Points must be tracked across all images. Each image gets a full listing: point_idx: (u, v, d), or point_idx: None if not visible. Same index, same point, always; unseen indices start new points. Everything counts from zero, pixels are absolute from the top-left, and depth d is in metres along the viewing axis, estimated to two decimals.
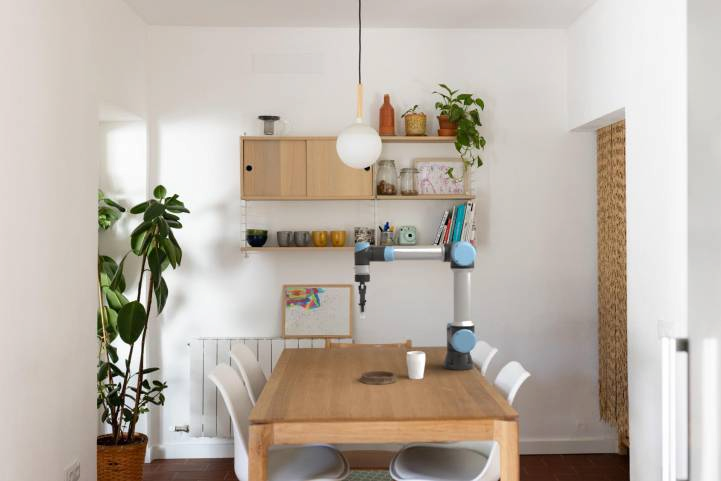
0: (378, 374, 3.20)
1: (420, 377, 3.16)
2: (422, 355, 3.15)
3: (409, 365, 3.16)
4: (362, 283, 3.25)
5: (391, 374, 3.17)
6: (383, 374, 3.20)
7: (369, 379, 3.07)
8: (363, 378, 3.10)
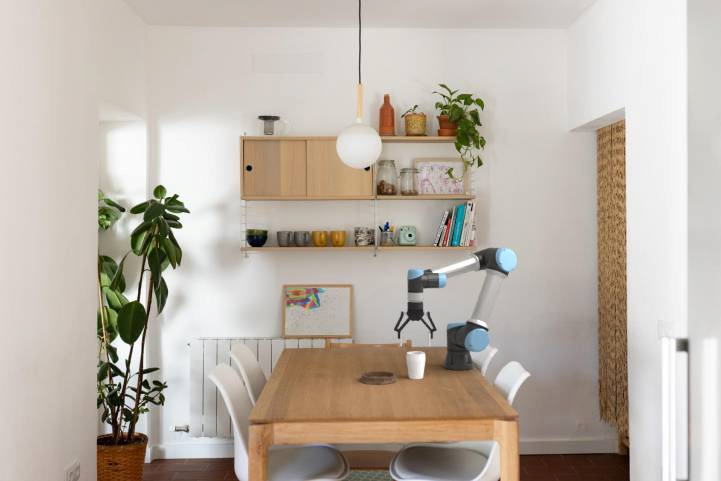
0: (378, 374, 3.20)
1: (420, 377, 3.16)
2: (422, 355, 3.15)
3: (409, 365, 3.16)
4: (407, 310, 3.18)
5: (391, 374, 3.17)
6: (383, 374, 3.20)
7: (369, 379, 3.07)
8: (363, 378, 3.10)
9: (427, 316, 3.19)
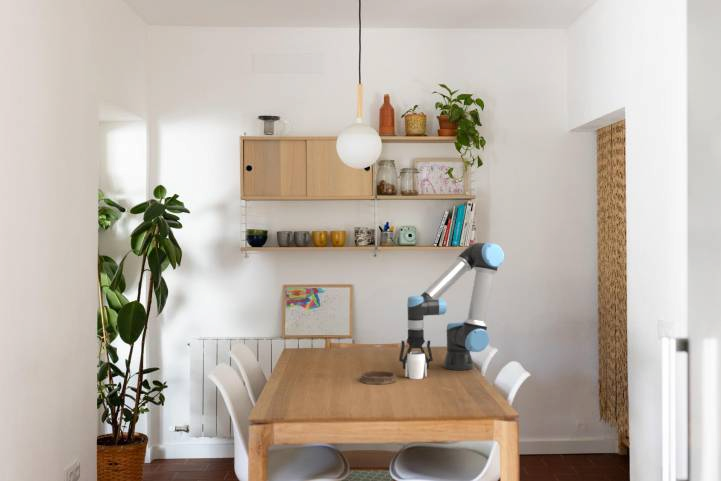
0: (378, 374, 3.20)
1: (420, 377, 3.16)
2: (422, 355, 3.15)
3: (409, 365, 3.16)
4: None
5: (391, 374, 3.17)
6: (383, 374, 3.20)
7: (369, 379, 3.07)
8: (363, 378, 3.10)
9: None
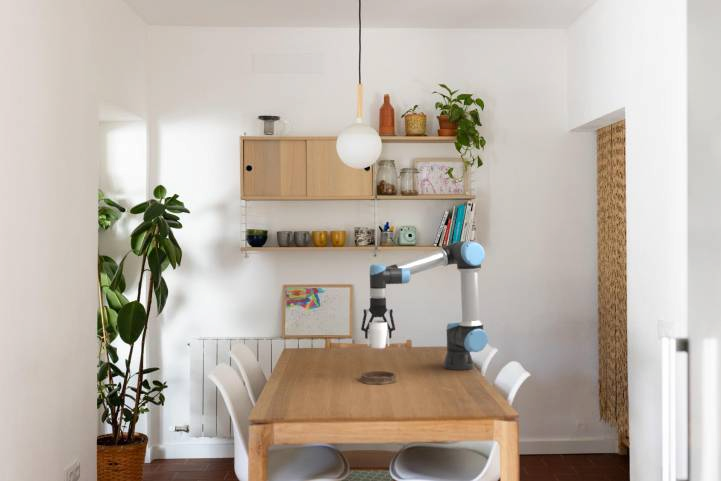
0: (378, 374, 3.20)
1: (382, 346, 3.10)
2: (384, 324, 3.10)
3: (371, 334, 3.11)
4: None
5: (391, 374, 3.17)
6: (383, 374, 3.20)
7: (369, 379, 3.07)
8: (363, 378, 3.10)
9: None
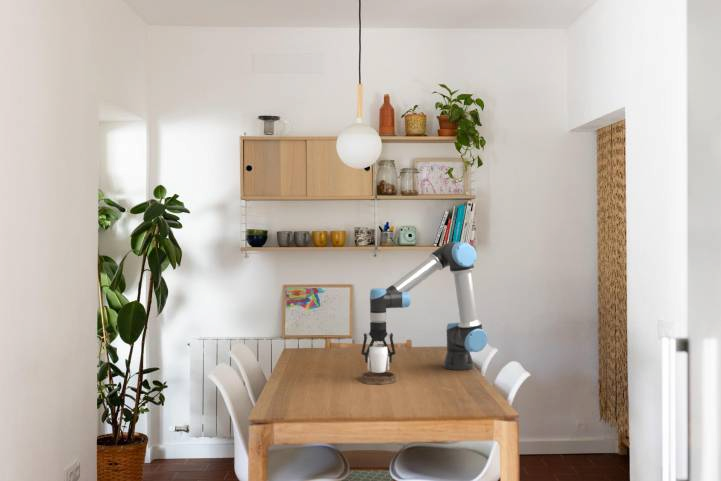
0: (378, 374, 3.20)
1: (382, 370, 3.11)
2: (384, 348, 3.10)
3: (371, 358, 3.11)
4: None
5: (391, 374, 3.17)
6: (383, 374, 3.20)
7: (369, 379, 3.07)
8: (363, 378, 3.10)
9: None
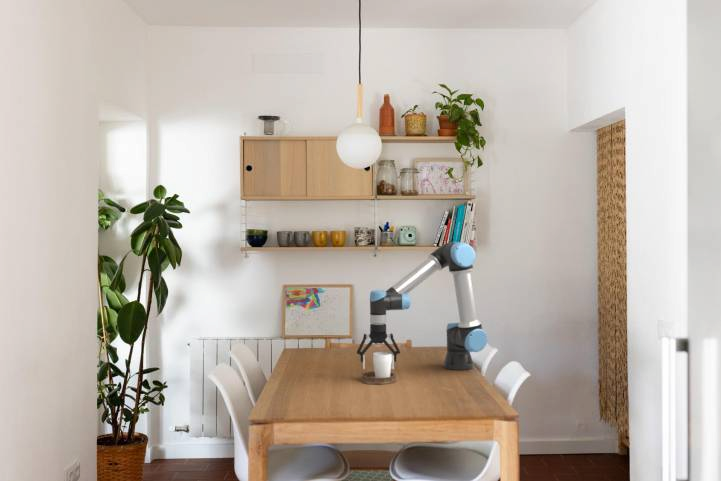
0: None
1: None
2: (388, 356, 3.10)
3: (375, 366, 3.11)
4: (370, 333, 3.13)
5: (391, 374, 3.17)
6: None
7: (369, 379, 3.07)
8: (363, 378, 3.10)
9: (390, 338, 3.14)
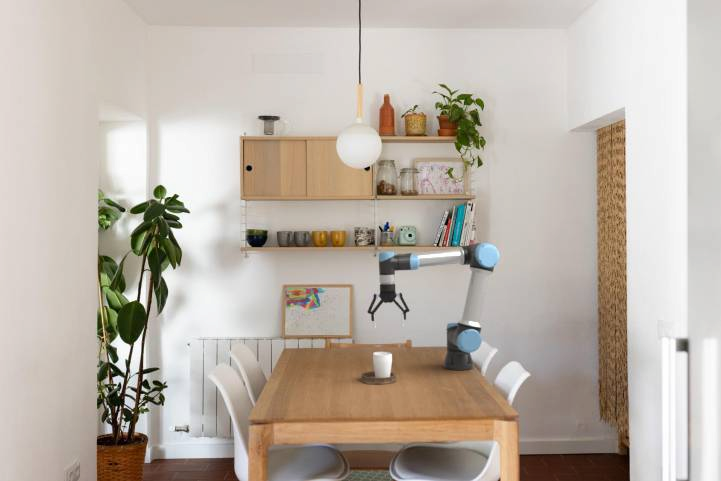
0: None
1: None
2: (388, 356, 3.10)
3: (375, 366, 3.11)
4: (380, 292, 3.23)
5: (391, 374, 3.17)
6: None
7: (369, 379, 3.07)
8: (363, 378, 3.10)
9: (399, 297, 3.24)
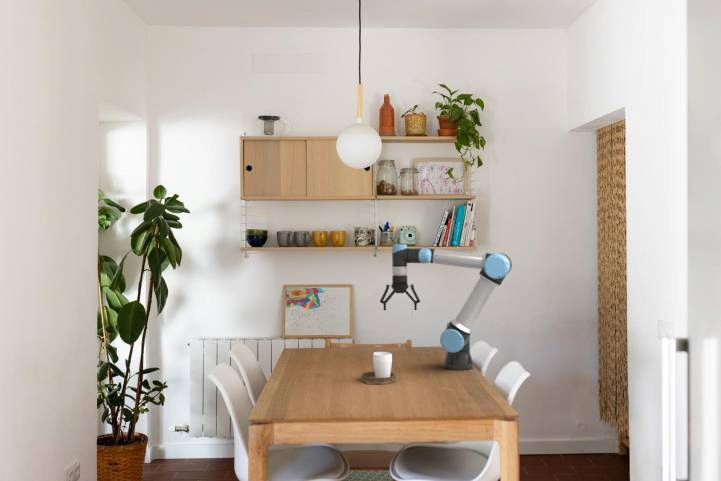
0: None
1: None
2: (388, 356, 3.10)
3: (375, 366, 3.11)
4: (392, 283, 3.38)
5: (391, 374, 3.17)
6: None
7: (369, 379, 3.07)
8: (363, 378, 3.10)
9: None
